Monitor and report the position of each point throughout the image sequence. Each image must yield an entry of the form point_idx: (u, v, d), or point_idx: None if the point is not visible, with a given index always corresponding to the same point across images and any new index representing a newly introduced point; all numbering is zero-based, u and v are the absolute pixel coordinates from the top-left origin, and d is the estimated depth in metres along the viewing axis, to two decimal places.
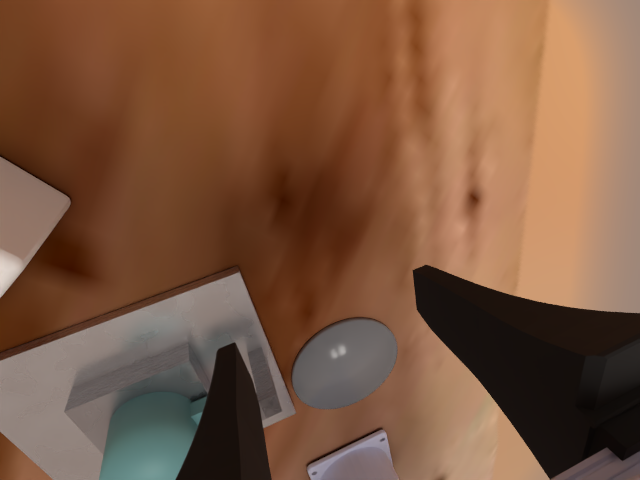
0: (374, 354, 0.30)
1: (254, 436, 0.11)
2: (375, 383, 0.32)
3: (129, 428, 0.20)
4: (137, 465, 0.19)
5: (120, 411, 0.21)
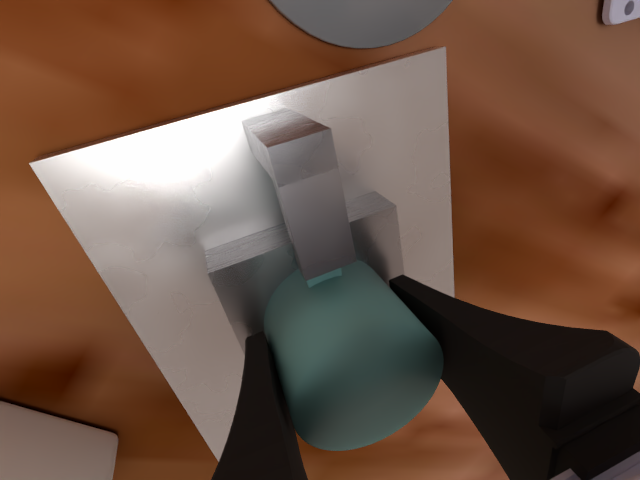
0: None
1: (287, 421, 0.11)
2: None
3: None
4: (312, 415, 0.11)
5: None
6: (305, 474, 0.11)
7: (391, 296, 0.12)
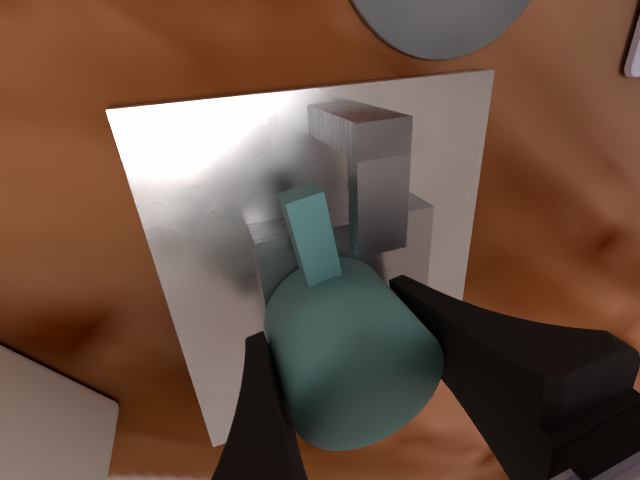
0: None
1: (287, 421, 0.11)
2: None
3: None
4: (313, 415, 0.11)
5: None
6: (305, 474, 0.11)
7: (391, 296, 0.12)
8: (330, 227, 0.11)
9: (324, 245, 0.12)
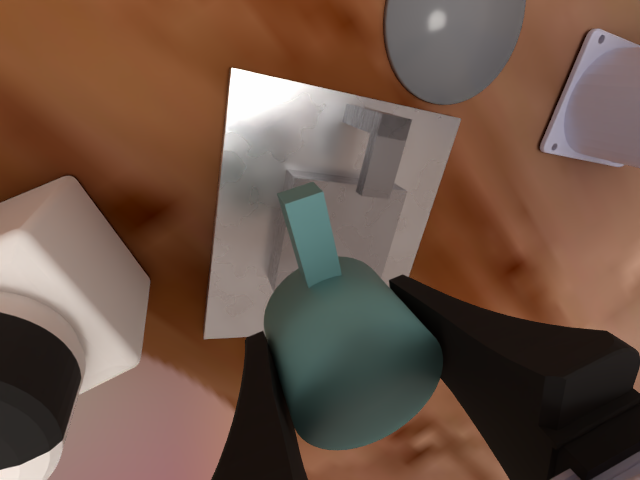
0: None
1: (287, 421, 0.11)
2: None
3: None
4: (312, 415, 0.11)
5: None
6: (305, 474, 0.11)
7: (391, 296, 0.12)
8: (330, 227, 0.11)
9: (323, 245, 0.12)
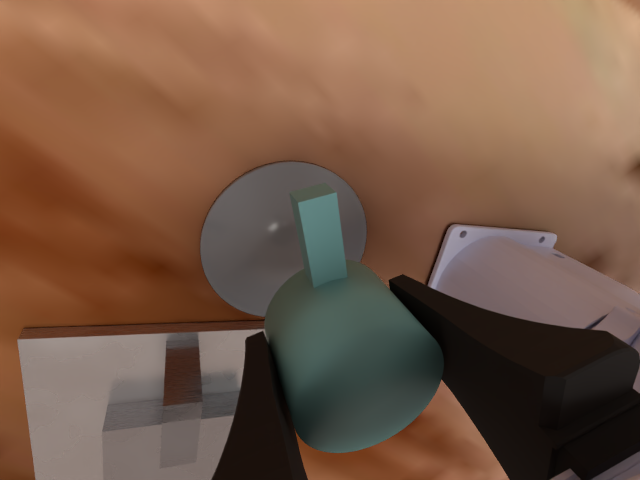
0: None
1: (287, 421, 0.11)
2: (354, 215, 0.20)
3: None
4: (313, 415, 0.11)
5: None
6: (305, 474, 0.11)
7: (395, 300, 0.12)
8: (339, 229, 0.12)
9: (332, 246, 0.12)
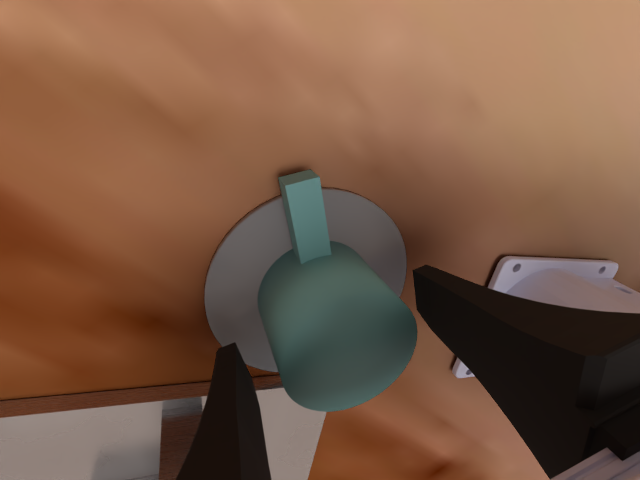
0: None
1: (254, 436, 0.11)
2: (393, 251, 0.16)
3: None
4: (299, 373, 0.12)
5: None
6: None
7: (374, 274, 0.13)
8: (323, 210, 0.13)
9: (317, 225, 0.13)
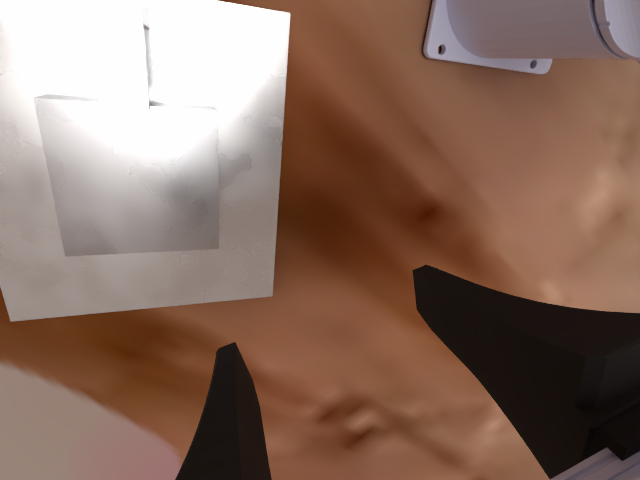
0: None
1: (254, 436, 0.11)
2: None
3: None
4: None
5: None
6: None
7: None
8: None
9: None
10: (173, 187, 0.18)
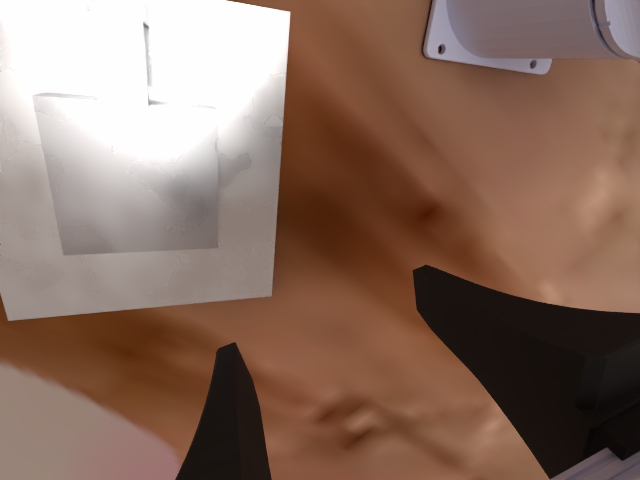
0: None
1: (254, 436, 0.11)
2: None
3: None
4: None
5: None
6: None
7: None
8: None
9: None
10: (172, 186, 0.18)
